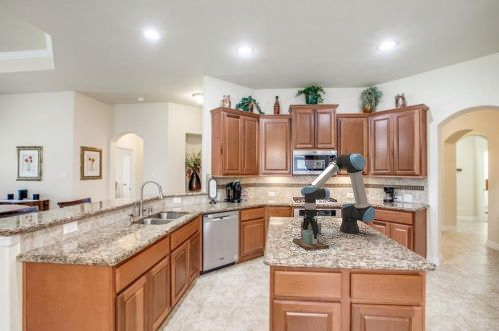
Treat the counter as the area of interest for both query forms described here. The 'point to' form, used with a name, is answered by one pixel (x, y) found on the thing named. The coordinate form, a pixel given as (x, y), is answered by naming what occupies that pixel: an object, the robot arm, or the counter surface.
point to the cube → (307, 237)
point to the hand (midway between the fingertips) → (310, 241)
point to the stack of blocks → (310, 228)
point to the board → (311, 246)
